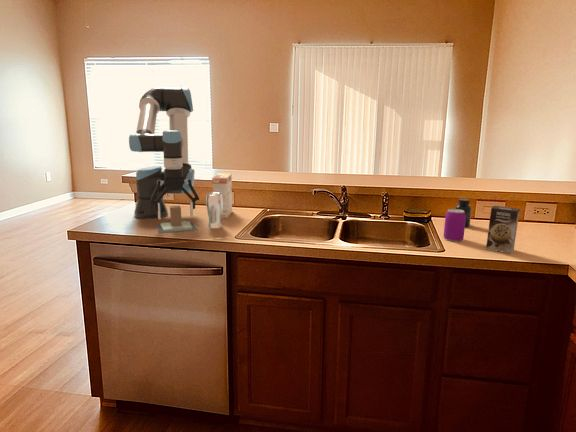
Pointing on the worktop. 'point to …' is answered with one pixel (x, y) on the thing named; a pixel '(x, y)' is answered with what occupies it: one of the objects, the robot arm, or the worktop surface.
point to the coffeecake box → (224, 191)
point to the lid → (176, 221)
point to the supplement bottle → (465, 209)
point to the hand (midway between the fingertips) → (175, 217)
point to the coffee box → (502, 228)
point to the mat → (174, 231)
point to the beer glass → (214, 209)
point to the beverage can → (454, 225)
